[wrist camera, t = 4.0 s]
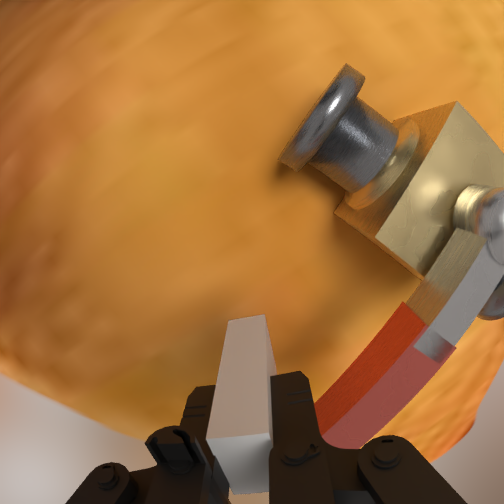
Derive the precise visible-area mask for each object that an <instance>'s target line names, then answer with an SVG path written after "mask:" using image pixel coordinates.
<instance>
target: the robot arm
mask: <svg viewBox="0 0 504 504" xmlns="http://www.w3.org/2000/svg"><path fill="white" fill-rule="evenodd" d="M145 445H146V446H147V448H148V450H149V451H150V453H151V454H152V456H153V458H154V459H155V461H156V462H157V465H156V466H154V467H151V468H148V469H142V470H137V471H132V472H129V471H128V470H127V468H126V467H125V466H123V465H121V464H119V463H113V462H111V463H105V464H102V465H100V466H98V467H96V468H95V469H94V470H93V471H92V472H91V473H90V474H89V475H88V476H87V477H86V479H85V480H84V481H83V482H82V484H81V485H80V486H79V487H78V489H77V490H76V491H75V493H74V494H73V495H72V496H71V497H70V499H69V500H68V501H67V502H66V504H231V503H230V501H229V499H228V496H229V487H230V488H231V490H232V492H233V494H234V495H235V494H251V493H262V492H269V504H467V503H466V502H465V501H464V500H463V499H462V497H461V496H460V495H459V494H458V493H456V491H455V490H454V489H453V488H452V487H451V486H450V485H449V484H448V483H447V481H446V480H445V479H444V478H443V477H442V476H441V475H440V474H439V473H438V472H437V471H436V470H435V469H434V468H433V466H432V465H431V464H430V463H429V462H428V461H427V460H426V459H425V458H424V457H423V456H422V455H421V454H420V452H419V451H418V450H417V449H416V448H415V447H414V446H413V445H412V444H411V443H410V442H409V441H407V440H406V439H404V438H402V437H398V436H395V435H388V436H381V437H377V438H374V439H372V440H371V441H369V442H368V443H366V444H365V445H364V446H363V447H362V449H343V448H337V447H334V446H332V445H330V444H328V443H327V442H326V441H325V440H324V439H323V438H322V436H321V434H320V430H319V426H318V421H317V416H316V411H315V407H314V402H313V398H312V393H311V388H310V384H309V379H308V378H307V377H306V376H305V375H304V374H303V373H302V372H301V371H296V372H291V373H286V374H280V375H277V371H276V364H275V360H274V355H273V351H272V346H271V341H270V337H269V332H268V327H267V323H266V318H265V314H263V315H257V316H252V317H246V318H240V319H234V320H229V321H228V326H227V331H226V336H225V341H224V346H223V351H222V357H221V362H220V367H219V372H218V377H217V383H216V385H209V386H200V387H196V388H195V389H194V390H193V392H192V393H191V394H190V395H189V396H188V399H187V402H186V406H185V409H184V412H183V418H182V419H181V423H180V426H169V427H164V428H162V429H159V430H157V431H155V432H154V433H153V434H152V435H150V436H149V437H148V439H147V440H146V442H145Z"/></svg>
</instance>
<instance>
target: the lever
mask: <svg viewBox="0 0 504 504" xmlns="http://www.w3.org/2000/svg"><path fill="white" fill-rule="evenodd" d="M453 227H454V233H453V235H452V236H451V238H450V240H449V241H448V243H447V244H446V246H445V247H444V249H443V251H442V252H441V254H440V255H439V257H438V258H437V260H436V261H435V263H434V264H433V266H432V267H431V269H430V270H429V272H428V273H427V275H426V276H425V277H424V279H423V280H422V282H421V283H420V284H419V286H418V287H417V289H416V290H415V291H414V293H413V294H412V296H411V297H410V298H409V300H408V301H407V302H406V304H405V303H404V302H402V303H401V305H400V306H399V307H398V308H397V310H396V311H395V312H394V314H393V315H392V316H391V318H390V319H389V320H388V321H387V323H386V324H385V325H384V326H383V328H382V329H381V330H380V331H379V333H378V334H377V335H376V336H375V337H374V339H373V340H372V341H371V342H370V343H369V345H368V346H367V347H366V348H365V349H364V350H363V352H362V353H361V354H360V355H359V356H358V357H357V359H356V360H355V361H354V362H353V363H352V364H351V365H350V366H349V368H348V369H347V370H346V371H345V372H344V373H343V374H342V375H341V376H340V377H339V379H338V380H337V381H336V382H335V383H334V384H333V385H332V386H331V387H330V388H329V389H328V390H327V391H326V392H325V393H324V394H323V395H322V396H321V397H320V398H319V399H318V400H317V401H316V402H315V403H314V407H315V411H316V416H317V421H318V426H319V430H320V434H321V436H322V438H323V439H324V440H325V441H326V442H327V443H328V444H330V445H332V446H334V447H337V448H343V449H359V448H360V447H361V446H363V445H364V444H365V443H366V442H367V441H368V440H370V439H371V438H372V437H373V436H374V435H375V434H376V433H377V432H378V431H380V430H381V429H382V428H383V427H384V426H385V425H386V424H387V423H388V422H389V421H390V420H391V419H392V418H393V417H395V416H396V415H397V414H398V413H399V412H400V411H401V410H402V409H403V408H404V407H405V406H406V405H407V404H408V403H409V402H410V401H411V400H412V398H413V397H414V396H415V395H416V394H417V393H418V392H419V391H420V390H421V389H422V388H423V387H424V386H425V385H426V383H427V382H428V381H429V380H430V379H431V378H432V377H433V376H434V374H435V373H436V372H437V371H438V370H439V369H440V368H441V366H442V365H443V364H444V363H445V362H446V360H447V359H448V358H449V357H450V355H451V354H452V353H453V352H454V350H455V349H456V347H455V345H456V343H457V342H458V341H459V339H460V338H461V337H462V336H463V334H464V333H465V332H466V330H467V329H468V327H469V326H470V325H471V323H472V322H473V321H474V319H475V318H476V316H477V315H478V313H479V312H480V311H481V309H482V308H483V306H484V305H485V303H486V302H487V300H488V299H489V297H490V296H491V294H492V292H493V291H494V289H495V288H496V286H497V284H498V283H499V281H500V280H501V278H502V276H503V275H504V188H501V187H494V186H487V185H480V184H475V185H471V186H469V187H467V188H466V189H465V190H464V191H463V192H462V193H461V194H460V196H459V197H458V199H457V202H456V204H455V208H454V213H453Z"/></svg>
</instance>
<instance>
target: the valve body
mask: <svg viewBox="0 0 504 504" xmlns="http://www.w3.org/2000/svg"><path fill="white" fill-rule="evenodd" d="M364 81H365V76H364V75H362V74H361V73H359V72H358V71H357V70H355V69H354V68H352V67H351V66H350V65H348V64H347V63H346V64H345V65H344V66H343V67H342V68H341V70H340V71H339V72H338V73H337V75H336V76H335V77H334V79H333V80H332V81H331V83H330V84H329V85H328V87H327V88H326V89H325V91H324V92H323V93H322V95H321V96H320V97H319V99H318V100H317V102H316V103H315V104H314V106H313V107H312V109H311V110H310V111H309V113H308V114H307V116H306V117H305V119H304V120H303V121H302V123H301V124H300V126H299V127H298V129H297V130H296V132H295V133H294V135H293V136H292V138H291V139H290V141H289V142H288V144H287V145H286V147H285V148H284V150H283V152H282V153H281V155H280V157H279V158H278V160H279V161H281V162H282V163H284V164H285V165H287V166H288V167H290V168H291V169H293V170H294V171H296V172H298V171H299V170H301V169H302V168H303V167H304V166H305V165H306V164H307V163H309V164H310V165H312V166H313V167H315V168H316V169H317V170H319V171H320V172H322V173H323V174H325V175H326V176H327V177H329V178H330V179H331V180H333V181H334V182H336V183H337V184H338V185H340V186H341V187H342V188H344V189H345V195H344V198H343V200H342V201H341V203H340V204H339V206H338V207H337V208H336V210H335V211H334V214H335V215H337V216H338V217H340V218H341V219H342V220H344V221H345V222H346V223H348V224H349V225H350V226H352V227H353V228H354V229H356V230H357V231H359V232H360V233H361V234H363V235H364V236H365V237H366V238H368V239H369V240H370V241H372V242H373V243H374V244H376V245H377V246H378V247H380V248H381V249H382V250H383V251H385V252H386V253H387V254H389V255H390V256H391V257H392V258H394V259H395V260H396V261H397V262H399V263H400V264H401V265H402V266H404V267H405V268H406V269H407V270H409V271H410V272H411V273H412V274H414V275H415V276H416V277H418V278H419V279H420V280H423V279H424V277H425V276H426V275H427V273H428V272H429V270H430V269H431V267H432V266H433V264H434V263H435V261H436V260H437V258H438V257H439V255H440V254H441V252H442V251H443V249H444V247H445V246H446V244H447V243H448V241H449V240H450V238H451V236H452V235H453V233H454V227H453V213H454V208H455V204H456V202H457V199H458V197H459V196H460V194H461V193H462V192H463V191H464V190H465V189H466V188H467V187H469V186H471V185H475V184H480V185H487V186H494V187H501V188H504V154H503V152H502V151H501V150H500V149H499V147H498V146H497V145H496V144H495V142H494V141H493V140H492V139H491V138H490V136H489V135H488V134H487V133H486V132H485V131H484V129H483V128H482V127H481V126H480V125H479V124H478V123H477V121H476V120H475V119H474V118H473V117H472V116H471V115H470V114H469V113H468V112H467V111H466V110H465V108H464V107H463V106H462V105H461V104H460V103H459V102H458V101H455V102H452V103H448V104H445V105H441V106H438V107H435V108H432V109H428V110H425V111H422V112H419V113H416V114H412V115H409V116H406V117H403V118H400V119H397V120H394V121H393V123H392V124H391V123H390V122H389V121H388V120H386V119H385V118H384V117H383V116H382V115H380V114H379V113H378V112H376V111H375V110H374V109H373V108H371V107H370V106H369V105H367V104H366V103H365V102H363V101H362V100H361V99H359V98H358V97H357V95H358V93H359V91H360V89H361V87H362V85H363V83H364ZM477 317H478V318H480V319H483V320H497V319H500V318H503V317H504V275H503V276H502V278H501V280H500V281H499V283H498V284H497V286H496V288H495V289H494V291H493V292H492V294H491V296H490V297H489V299H488V300H487V302H486V303H485V305H484V306H483V308H482V309H481V311H480V312H479V313H478V315H477Z"/></svg>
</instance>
